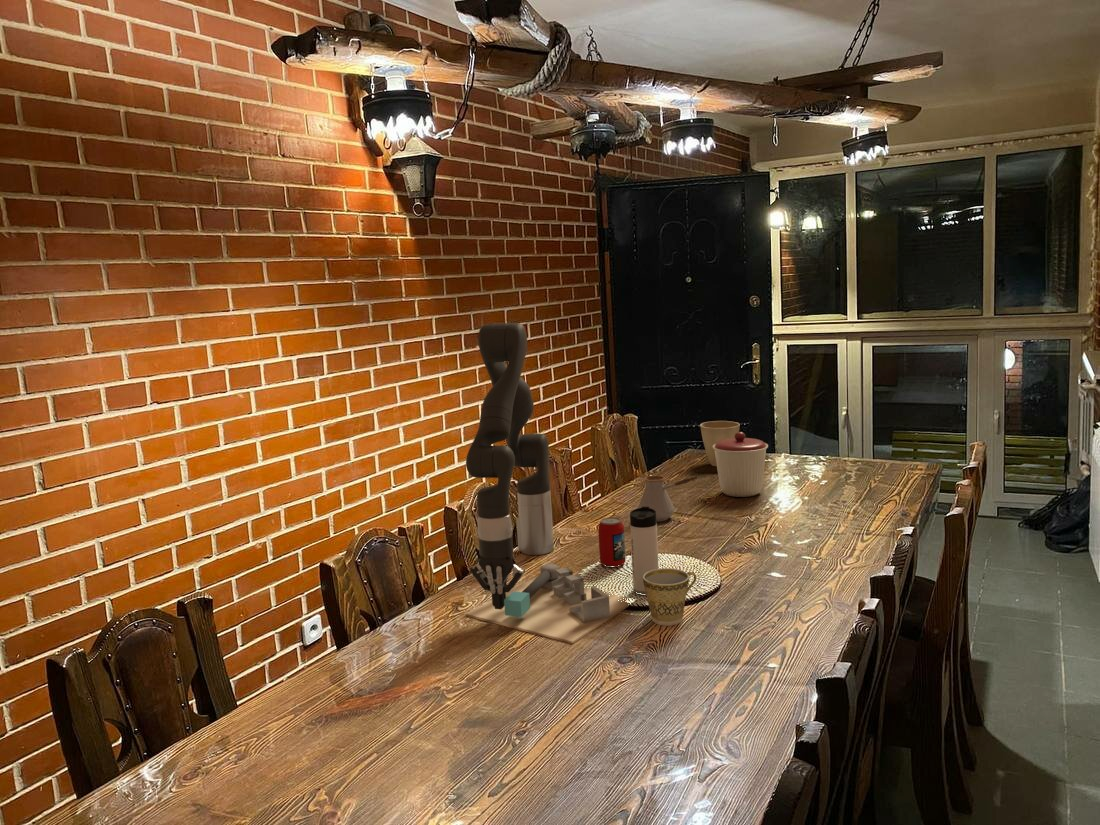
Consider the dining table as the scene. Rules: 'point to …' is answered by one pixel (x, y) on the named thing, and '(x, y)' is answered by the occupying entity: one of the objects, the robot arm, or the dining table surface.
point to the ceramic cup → (667, 594)
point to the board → (548, 613)
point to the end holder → (593, 607)
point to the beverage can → (611, 542)
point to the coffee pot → (660, 496)
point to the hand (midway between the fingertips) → (499, 607)
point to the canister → (740, 465)
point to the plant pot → (717, 435)
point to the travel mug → (643, 545)
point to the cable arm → (528, 592)
